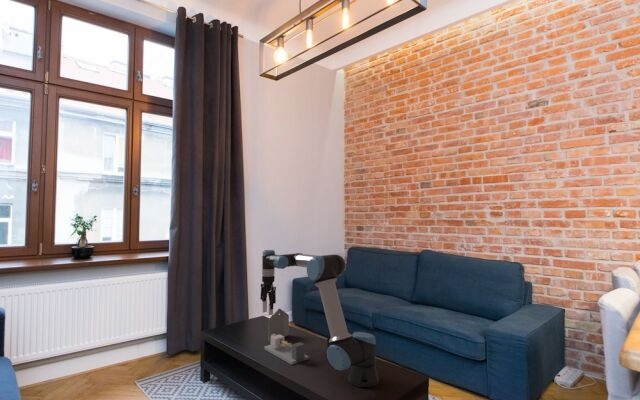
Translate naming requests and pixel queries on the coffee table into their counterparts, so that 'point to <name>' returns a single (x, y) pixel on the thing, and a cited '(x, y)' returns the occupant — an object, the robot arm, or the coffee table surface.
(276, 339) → the sleeve
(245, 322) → the coffee table surface
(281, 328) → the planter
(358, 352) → the robot arm
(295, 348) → the light grey blocky piece
